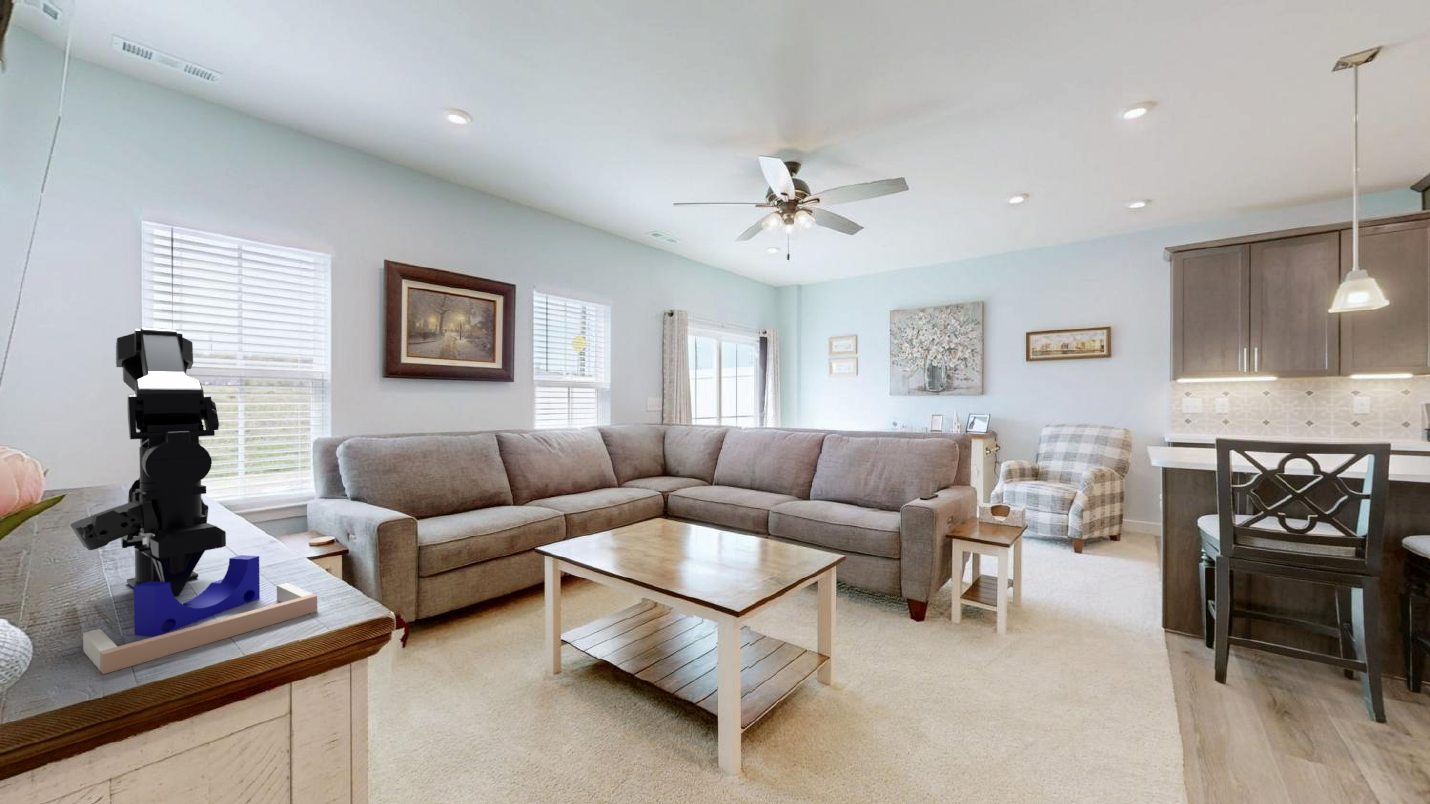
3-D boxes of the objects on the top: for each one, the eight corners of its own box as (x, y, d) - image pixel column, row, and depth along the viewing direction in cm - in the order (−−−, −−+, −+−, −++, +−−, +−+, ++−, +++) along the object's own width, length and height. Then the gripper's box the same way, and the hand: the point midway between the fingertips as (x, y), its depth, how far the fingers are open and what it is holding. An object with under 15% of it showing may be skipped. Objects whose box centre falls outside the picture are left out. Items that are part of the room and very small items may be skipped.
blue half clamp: (232, 597, 74) (231, 554, 74) (259, 599, 74) (259, 556, 73) (124, 636, 62) (123, 584, 62) (155, 638, 62) (155, 586, 62)
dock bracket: (83, 651, 58) (83, 632, 58) (287, 597, 74) (287, 582, 74) (103, 674, 53) (102, 654, 53) (317, 611, 69) (317, 595, 69)
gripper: (62, 482, 69) (64, 602, 69) (95, 496, 59) (97, 636, 59) (181, 472, 79) (182, 577, 79) (226, 482, 69) (228, 603, 69)
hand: (172, 596), depth 71 cm, fingers closed
